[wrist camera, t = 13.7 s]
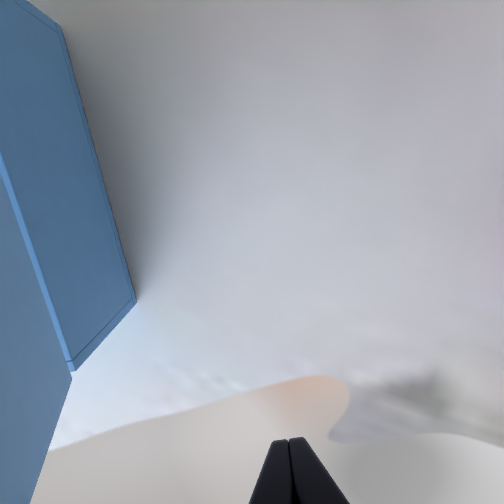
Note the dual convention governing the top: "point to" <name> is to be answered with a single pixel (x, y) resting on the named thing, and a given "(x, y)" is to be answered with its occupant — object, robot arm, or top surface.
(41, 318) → the flap
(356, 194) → the top surface
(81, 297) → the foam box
